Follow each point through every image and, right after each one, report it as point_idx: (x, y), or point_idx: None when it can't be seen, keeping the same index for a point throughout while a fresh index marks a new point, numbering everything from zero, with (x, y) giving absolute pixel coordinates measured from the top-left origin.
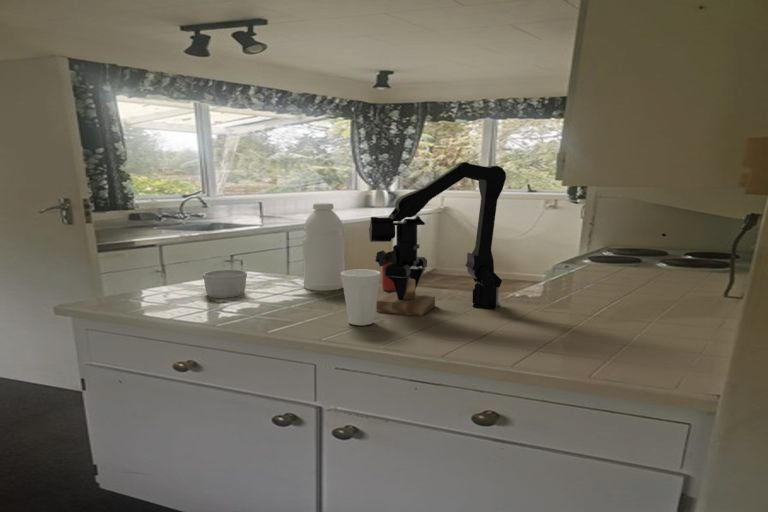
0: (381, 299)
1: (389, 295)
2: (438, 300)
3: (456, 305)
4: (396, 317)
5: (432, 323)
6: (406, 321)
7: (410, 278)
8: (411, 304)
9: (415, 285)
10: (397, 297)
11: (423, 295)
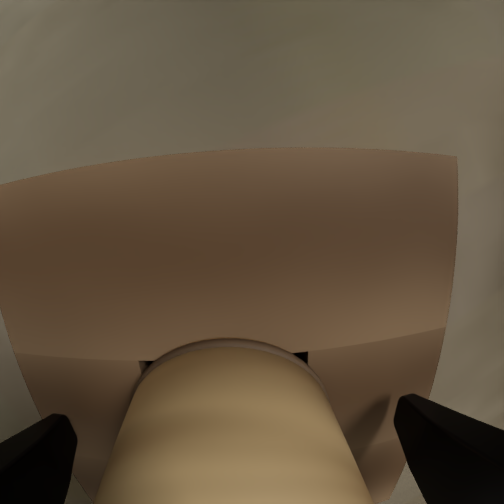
0: (34, 204)
1: (280, 186)
2: (484, 400)
3: (399, 492)
4: (13, 370)
5: (65, 499)
6: (6, 424)
7: (497, 497)
8: (77, 478)
9: (425, 489)
10: (154, 364)
11: (389, 461)
